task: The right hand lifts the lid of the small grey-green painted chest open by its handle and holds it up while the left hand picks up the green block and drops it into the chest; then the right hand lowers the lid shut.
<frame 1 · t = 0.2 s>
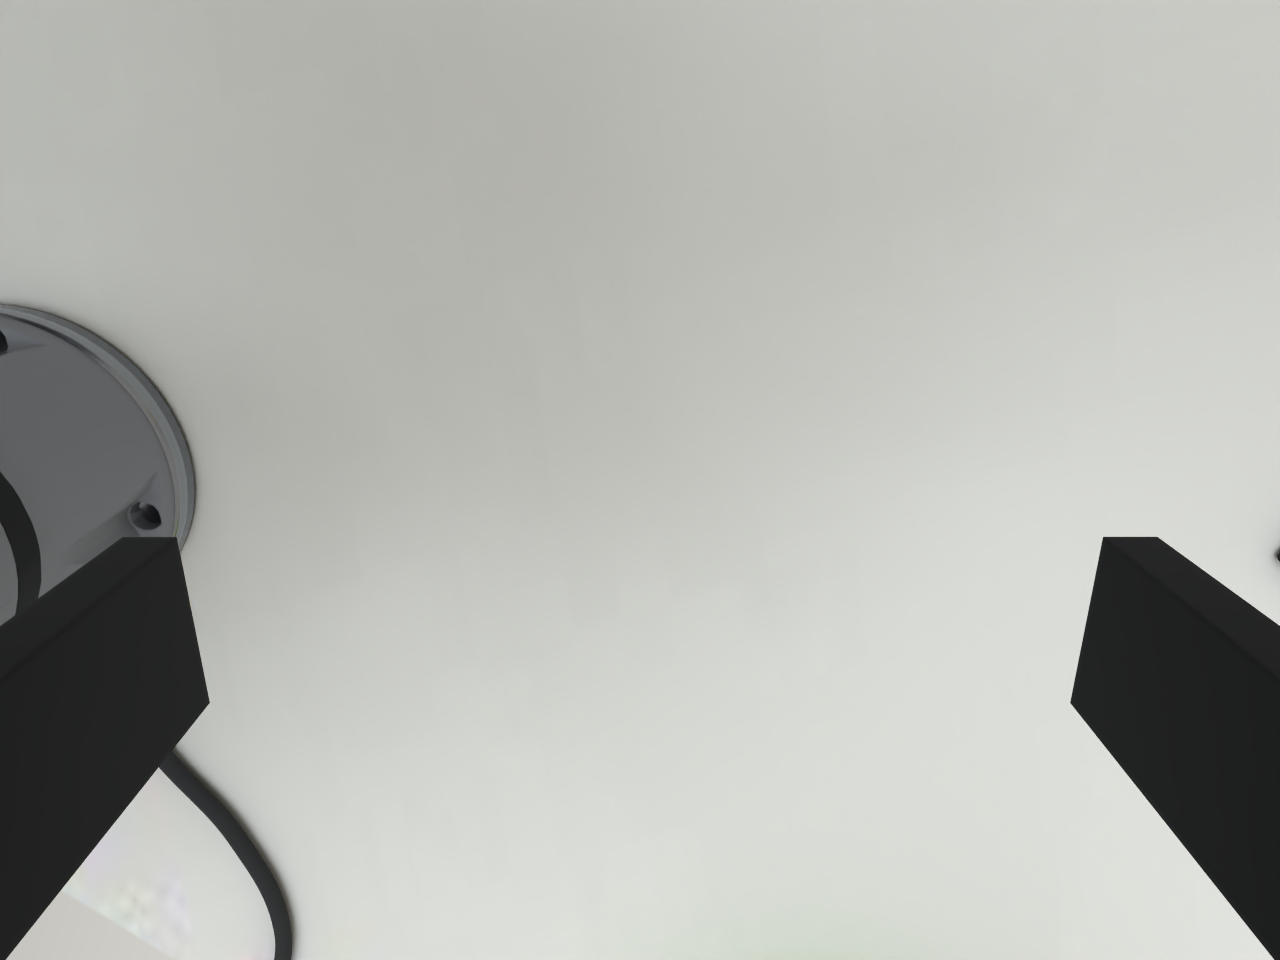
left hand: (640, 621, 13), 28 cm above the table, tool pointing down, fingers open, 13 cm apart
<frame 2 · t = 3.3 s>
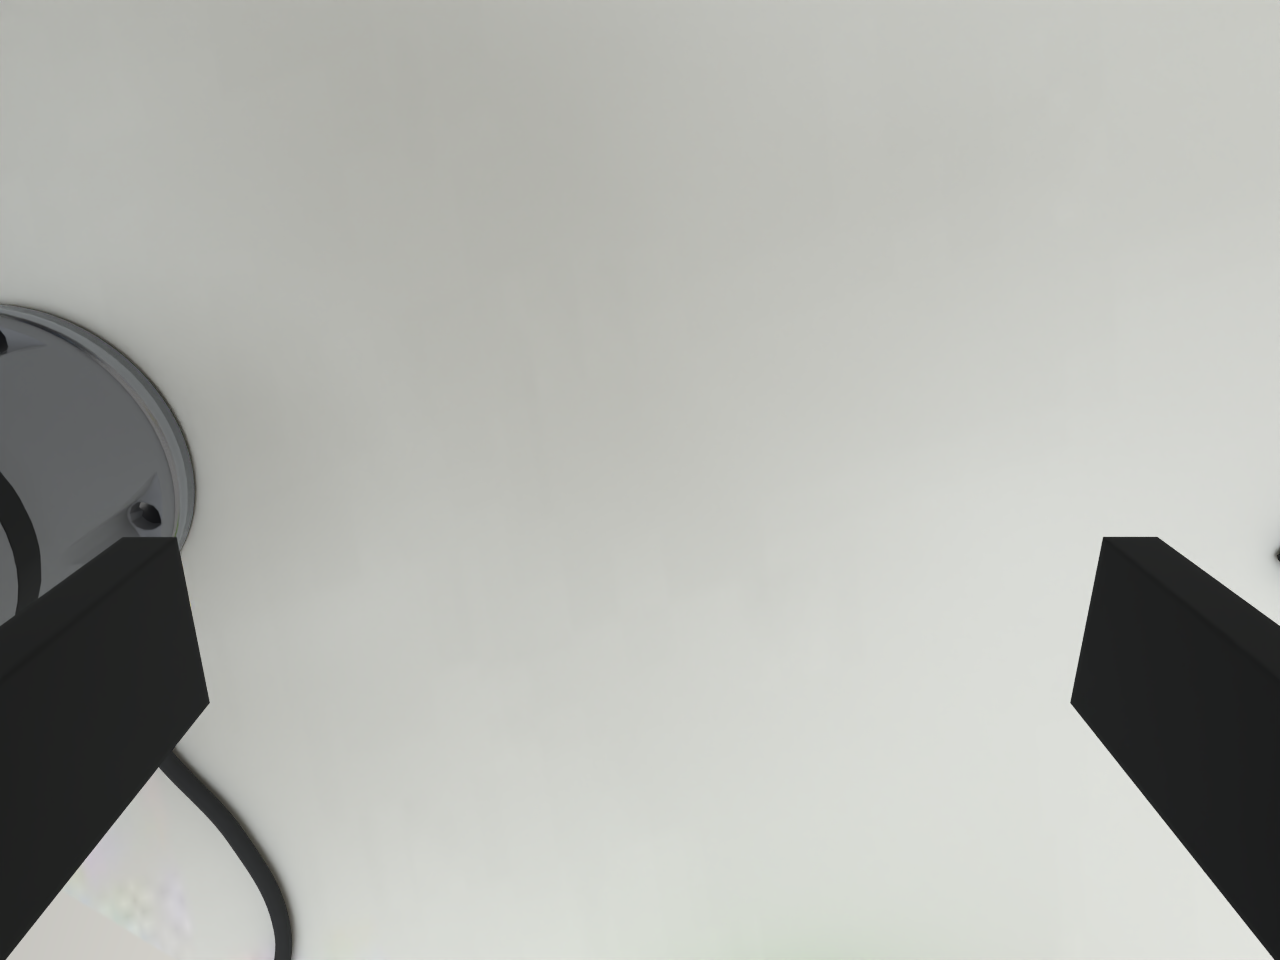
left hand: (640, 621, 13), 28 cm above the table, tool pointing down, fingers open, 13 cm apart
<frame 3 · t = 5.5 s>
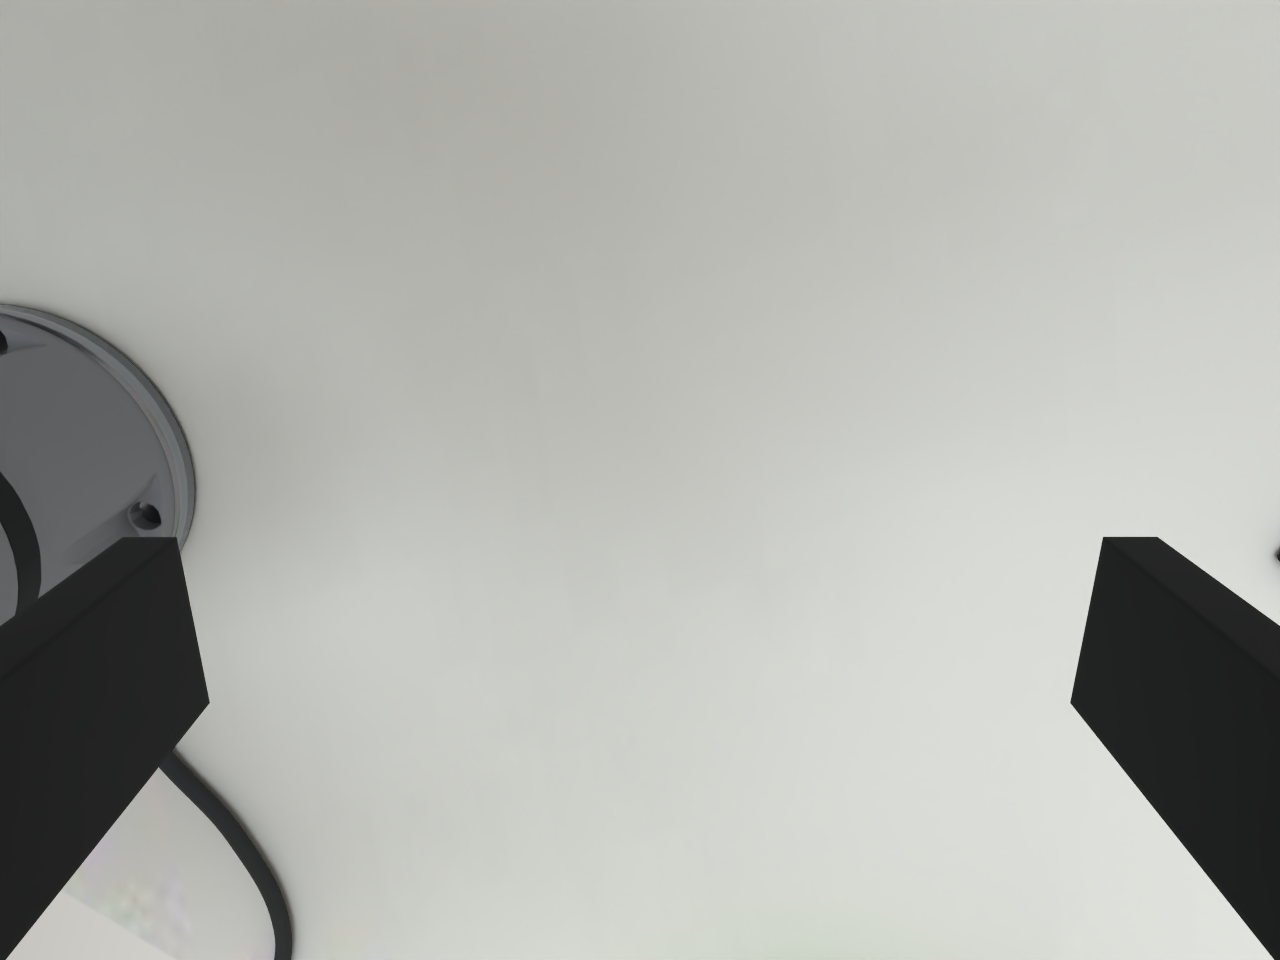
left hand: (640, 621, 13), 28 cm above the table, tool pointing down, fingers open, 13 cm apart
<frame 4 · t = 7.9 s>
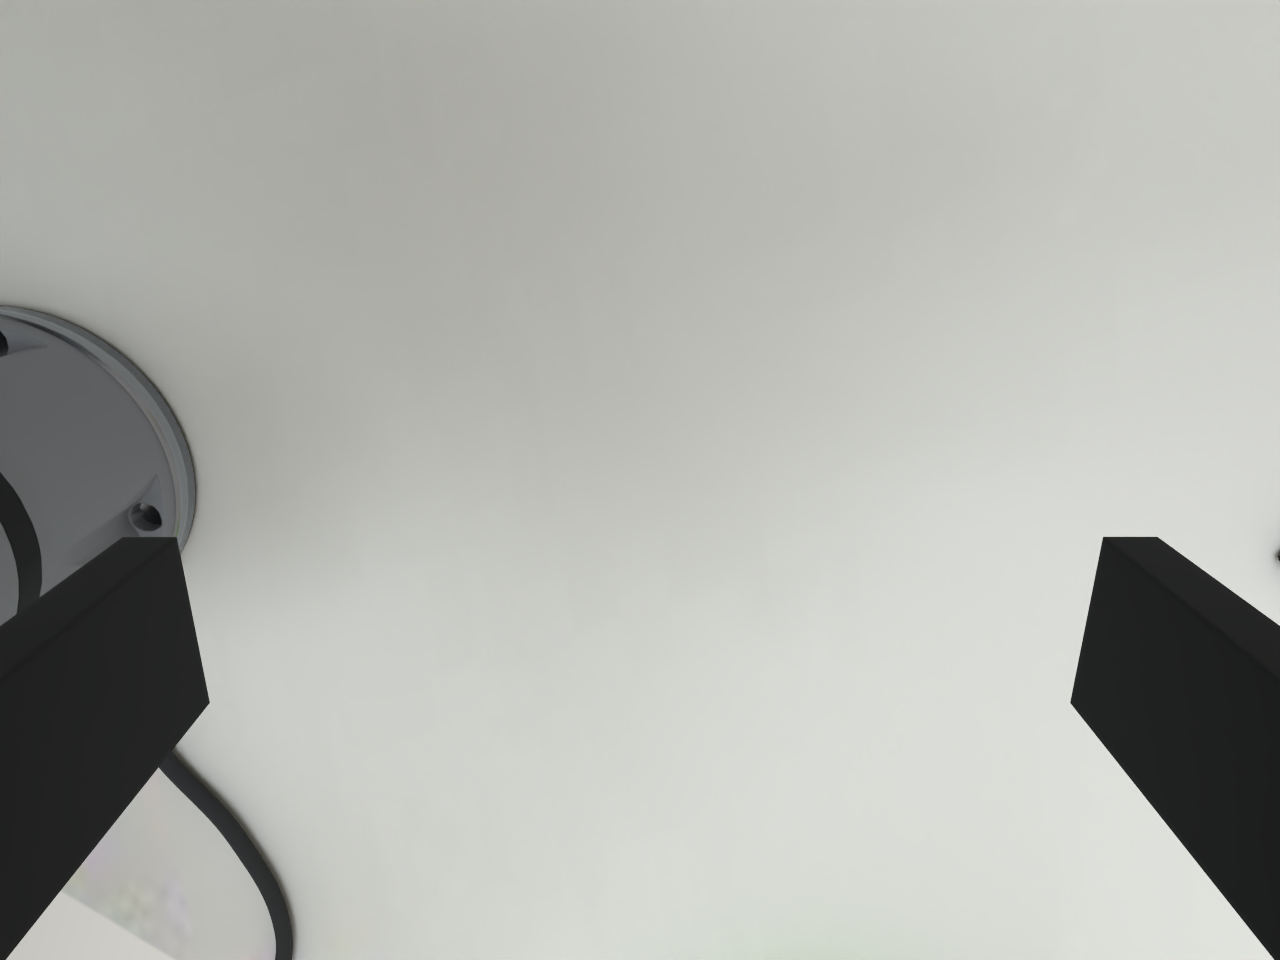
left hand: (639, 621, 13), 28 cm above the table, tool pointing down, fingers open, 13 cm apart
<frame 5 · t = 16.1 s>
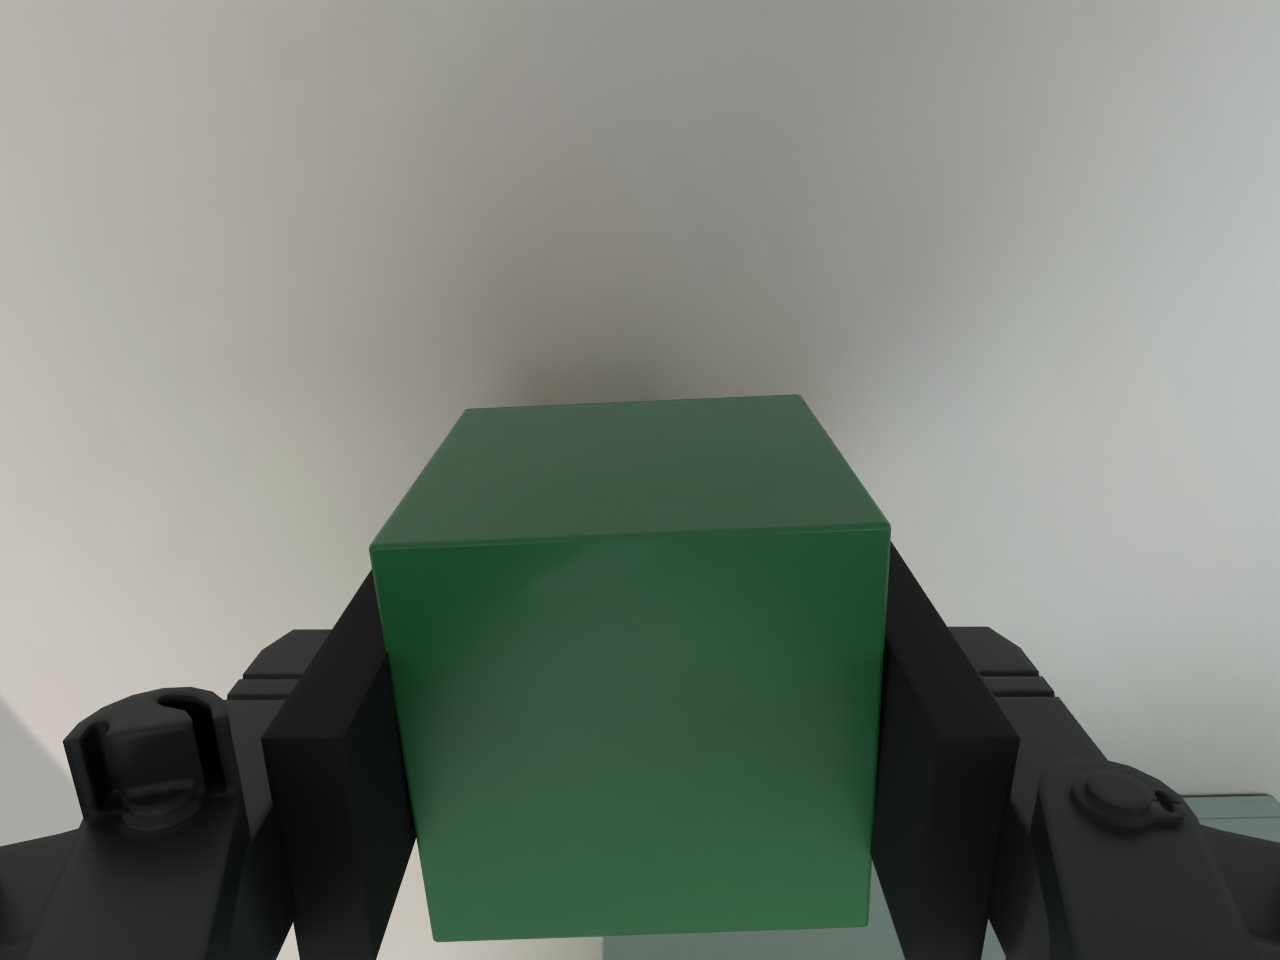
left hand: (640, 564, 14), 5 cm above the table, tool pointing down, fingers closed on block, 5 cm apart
block: (640, 553, 15), point 5 cm above the table, touching left hand
chest: (921, 950, 24), on the table
when the left hand's fingers open (18 cm above the table, at t = 18.8 s): block drops 16 cm, resting on chest.
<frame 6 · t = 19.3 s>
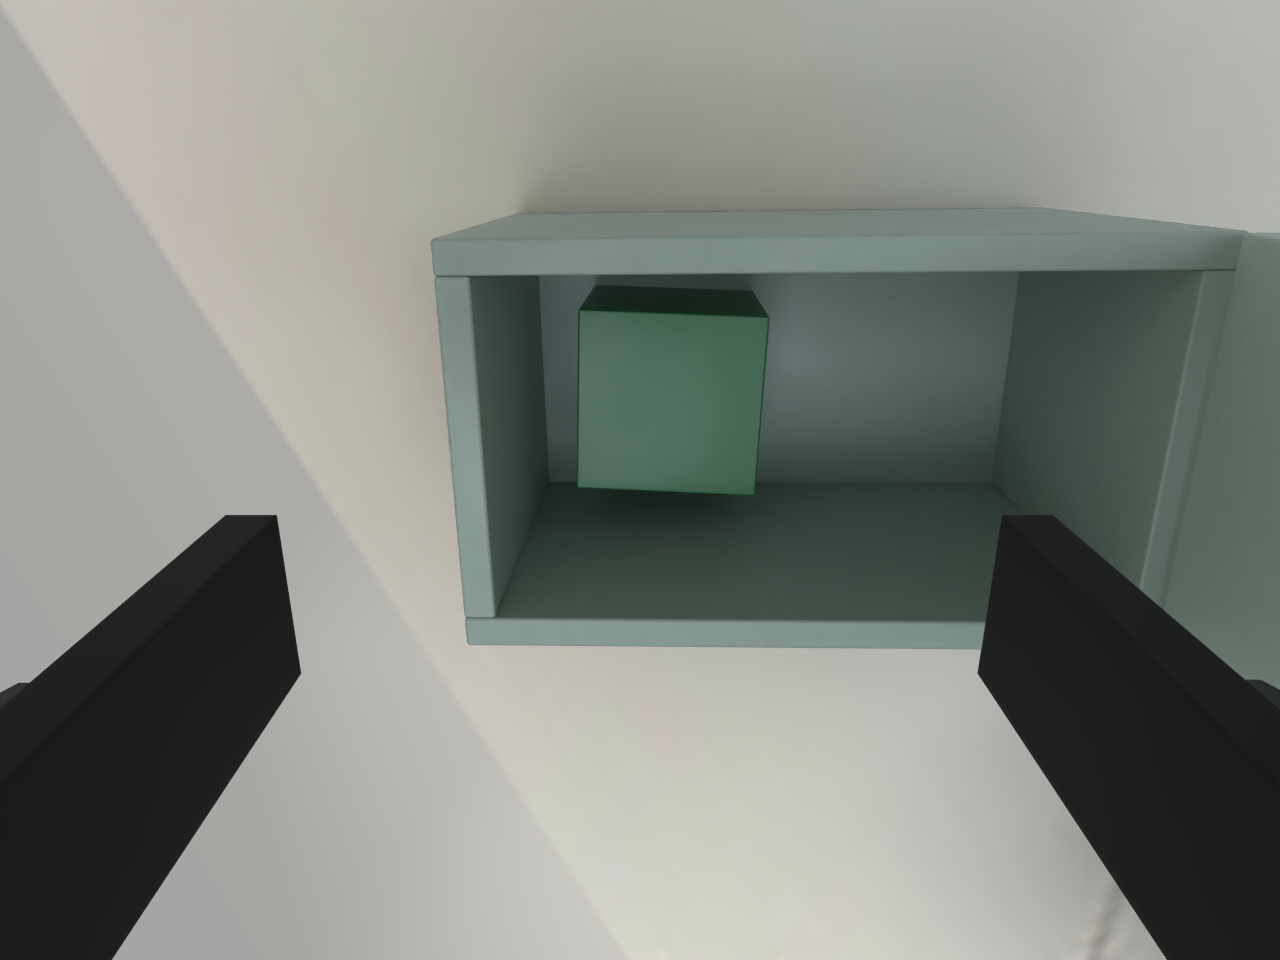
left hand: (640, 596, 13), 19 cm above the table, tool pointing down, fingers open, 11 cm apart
block: (670, 365, 30), point 1 cm above the table, touching chest
chest: (770, 360, 31), on the table, touching block
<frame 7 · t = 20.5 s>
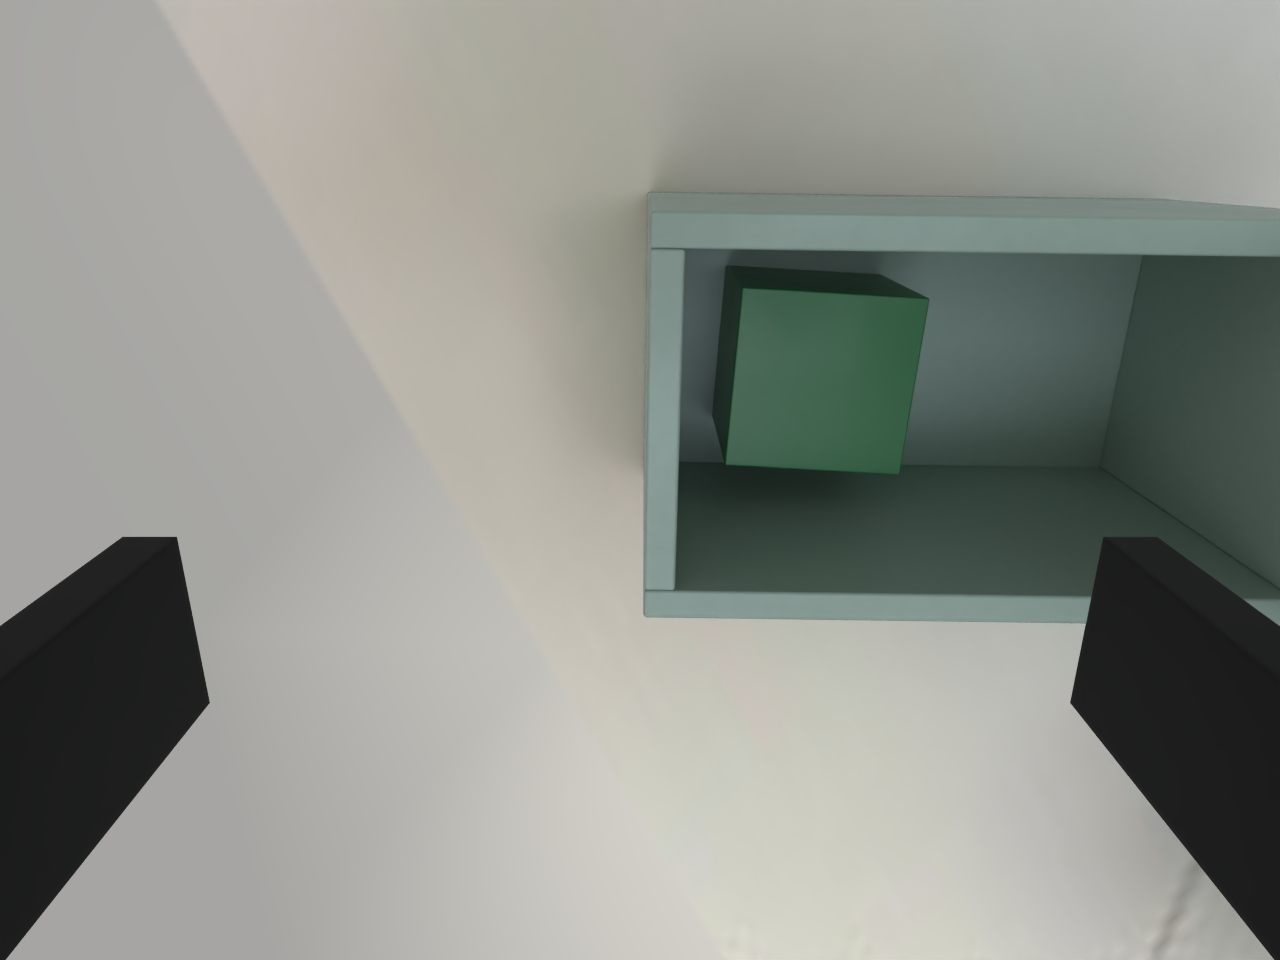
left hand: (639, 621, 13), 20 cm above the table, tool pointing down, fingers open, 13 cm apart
block: (794, 347, 30), point 1 cm above the table, touching chest
chest: (889, 344, 31), on the table, touching block
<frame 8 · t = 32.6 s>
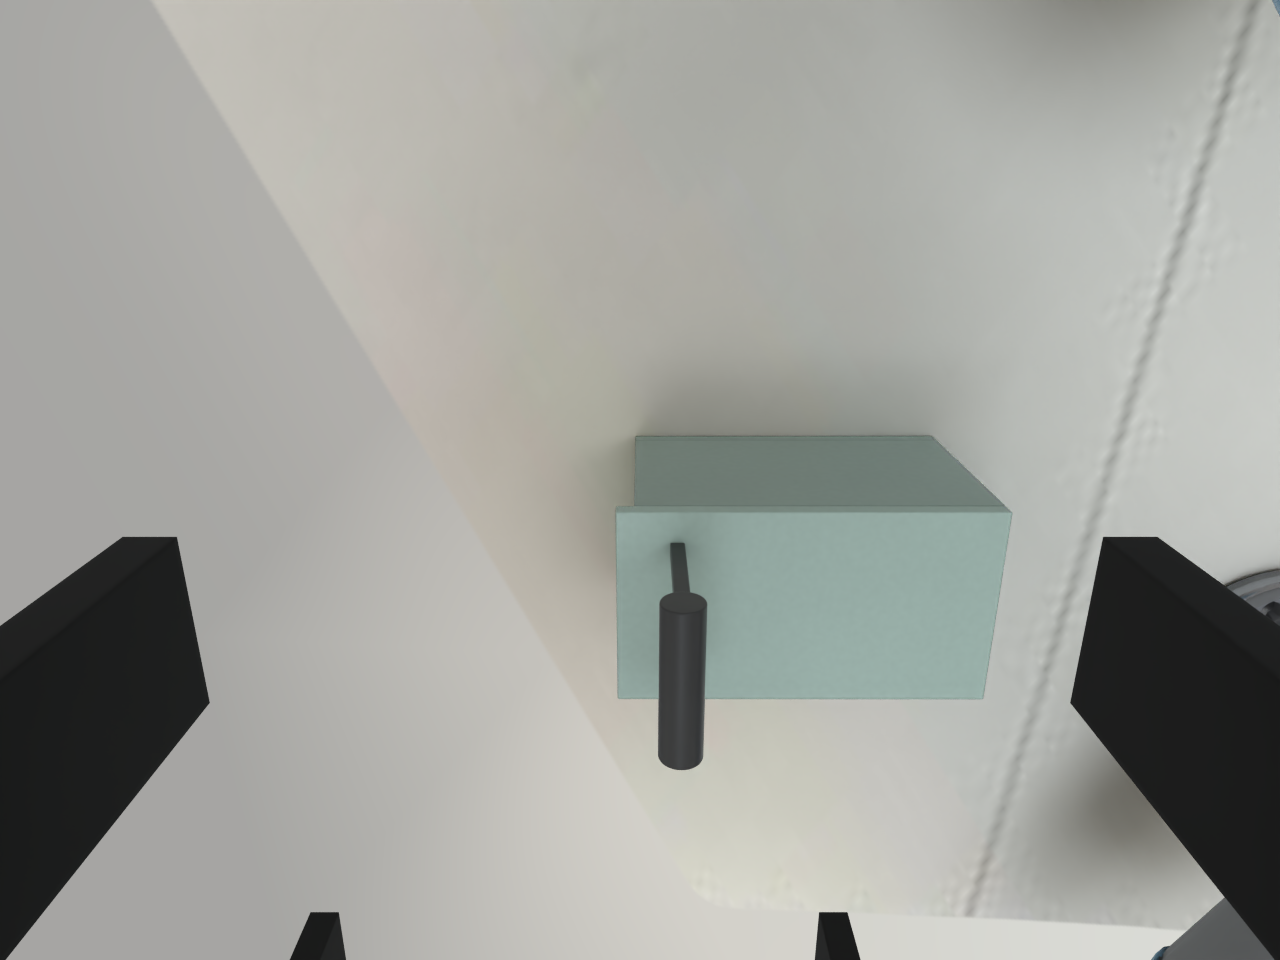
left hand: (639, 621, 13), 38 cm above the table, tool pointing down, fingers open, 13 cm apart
chest: (779, 515, 53), on the table, touching block
lid: (819, 644, 39), point 15 cm above the table, hinge at -0.1°
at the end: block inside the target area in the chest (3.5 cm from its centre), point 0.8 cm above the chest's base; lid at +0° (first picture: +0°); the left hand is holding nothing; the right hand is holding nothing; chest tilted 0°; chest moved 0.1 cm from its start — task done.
